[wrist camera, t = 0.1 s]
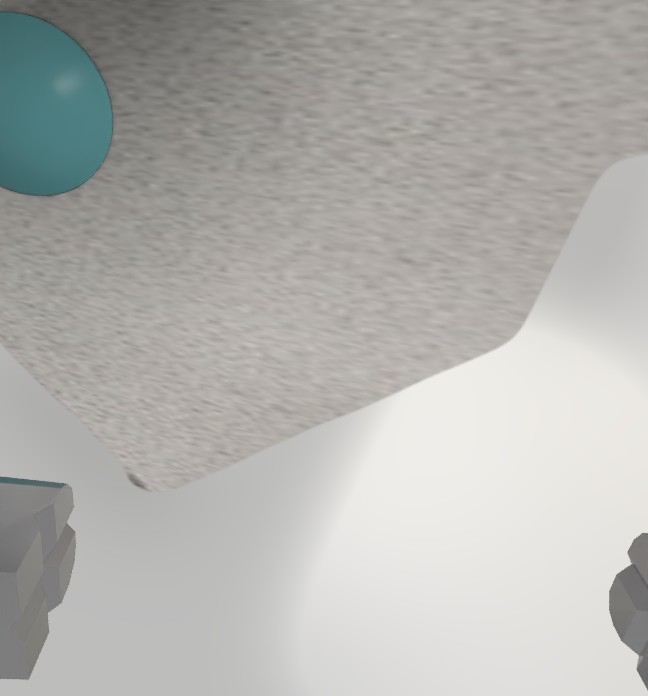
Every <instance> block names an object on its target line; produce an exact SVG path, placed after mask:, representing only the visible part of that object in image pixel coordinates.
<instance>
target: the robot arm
mask: <svg viewBox="0 0 648 696" xmlns="http://www.w3.org/2000/svg"><path fill="white" fill-rule="evenodd" d="M73 508H74V505H73V494H72V488H71V487H70V486H69V485H68V484H64V483H55V482H46V481H36V480H27V479H18V478H9V477H0V679H29V678H30V675H31V673H32V671H33V668H34V666H35V664H36V661H37V659H38V657H39V654H40V652H41V650H42V647H43V645H44V643H45V640H46V638H47V636H48V633H49V627H48V626H49V625H48V612H50V611H51V610H52V609H54V608H55V607H56V606H58V605H59V604H61V602H62V600H63V598H64V595H65V593H66V590H67V588H68V585H69V582H70V578H71V573H72V569H73V565H74V559H75V548H76V540H75V531H74V530H73V529H72V528H71V527H70V526H69V525H68V524H67V520H68V518H69V516H70V514H71V512H72V510H73ZM628 555H629V558H630V560H631V563H632V564H631V565H630V566H628V567H627V568H626V569H624V570H622V571H621V572H620V573H618V574H617V575H616V577H615V580H614V582H613V584H612V587H611V589H610V591H609V592H610V593H609V596H610V597H609V598H610V599H609V610H610V614H611V618H612V622H613V625H614V627H615V629H616V631H617V633H618V635H619V637H620V639H621V641H622V642H623V643H625V644H626V645H627V646H628V647H630V648H631V649H632V650H633V651H634V652H635V653H637V654H638V655H639V659H638V665H637V671H638V673H639V675H640V676H641V678H642V680H643V682H644V684H645V686H646V688H647V689H648V533H642V534H641V535H640V536H638V537H637V538H636V539H634V541H633V543H632V545H631V547H630V548H629V550H628Z"/></svg>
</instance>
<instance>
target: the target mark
mask: <svg viewBox="0 0 648 696" xmlns="http://www.w3.org/2000/svg"><path fill="white" fill-rule="evenodd" d="M112 130H113V115H112V107H111V102H110V98H109V94H108V91H107V89H106V86H105V83H104V81H103V79H102V77H101V75H100V73H99V71H98V69H97V68H96V66H95V65H94V63H93V62H92V60H91V59H90V57H89V56H88V55H87V54H86V53H85V51H84V50H83V49H82V48H81V47H80V46H79V45H78V44H77V43H76V42H75V41H74V40H73V39H72V38H70V37H69V36H68V35H67V34H65V33H64V32H63V31H61V30H60V29H58V28H56V27H55V26H53V25H51V24H49V23H47V22H45V21H43V20H41V19H38V18H35V17H32V16H29V15H25V14H19V13H9V12H0V185H1V186H3V187H6V188H8V189H11V190H13V191H17V192H21V193H25V194H31V195H53V194H58V193H62V192H66V191H69V190H71V189H73V188H76V187H77V186H79V185H81V184H82V183H84V182H85V181H86V180H88V179H89V178H90V177H91V176H92V175H93V174H94V173H95V172H96V171H97V170H98V168H99V167H100V165H101V164H102V162H103V161H104V159H105V156H106V154H107V152H108V149H109V146H110V142H111V138H112Z"/></svg>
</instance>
